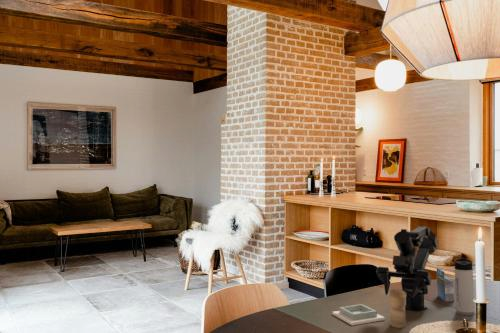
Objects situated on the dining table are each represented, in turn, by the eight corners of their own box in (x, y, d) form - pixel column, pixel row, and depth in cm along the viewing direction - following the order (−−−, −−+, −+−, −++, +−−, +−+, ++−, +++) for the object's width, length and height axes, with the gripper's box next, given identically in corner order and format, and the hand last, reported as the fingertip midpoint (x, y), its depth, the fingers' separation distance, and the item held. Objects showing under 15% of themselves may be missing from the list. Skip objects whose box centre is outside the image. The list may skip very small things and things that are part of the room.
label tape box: (454, 301, 194) (453, 271, 194) (444, 302, 195) (443, 271, 195) (446, 295, 203) (445, 267, 203) (436, 296, 203) (435, 267, 203)
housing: (363, 309, 187) (363, 302, 187) (385, 320, 174) (384, 311, 174) (332, 314, 183) (332, 306, 183) (351, 325, 170) (351, 316, 170)
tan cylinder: (398, 322, 172) (397, 288, 172) (408, 326, 167) (407, 291, 167) (387, 324, 169) (386, 290, 169) (398, 328, 165) (396, 293, 165)
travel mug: (473, 310, 182) (471, 258, 182) (475, 316, 176) (473, 261, 176) (455, 309, 184) (453, 257, 184) (456, 314, 178) (455, 261, 178)
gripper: (376, 245, 180) (367, 280, 170) (428, 248, 169) (421, 286, 160) (384, 262, 186) (375, 297, 177) (434, 266, 176) (427, 303, 166)
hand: (398, 295), depth 170 cm, fingers open, 9 cm apart
